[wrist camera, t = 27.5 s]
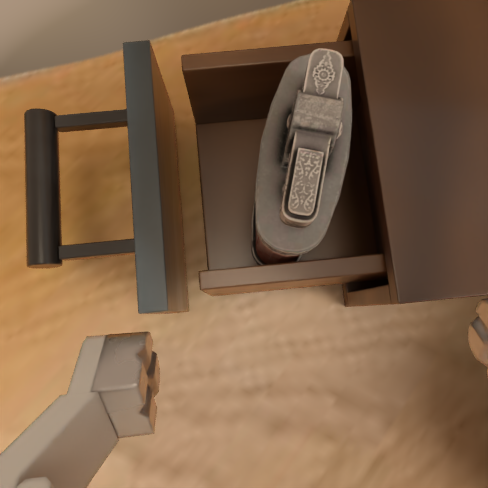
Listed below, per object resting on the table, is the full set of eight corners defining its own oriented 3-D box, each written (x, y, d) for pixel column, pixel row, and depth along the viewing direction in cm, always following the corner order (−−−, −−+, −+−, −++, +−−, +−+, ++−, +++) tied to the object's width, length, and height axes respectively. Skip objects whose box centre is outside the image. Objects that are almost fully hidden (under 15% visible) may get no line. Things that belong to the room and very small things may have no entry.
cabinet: (344, 306, 25) (398, 303, 16) (316, 96, 27) (351, -4, 18) (575, 284, 25) (747, 269, 16) (530, 77, 27) (662, -31, 19)
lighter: (268, 127, 24) (286, 0, 14) (327, 138, 24) (385, 18, 14) (241, 265, 23) (240, 230, 13) (302, 277, 23) (349, 251, 13)
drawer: (79, 322, 24) (14, 326, 17) (71, 120, 26) (10, 51, 19) (390, 291, 24) (448, 283, 17) (360, 94, 26) (402, 17, 19)
